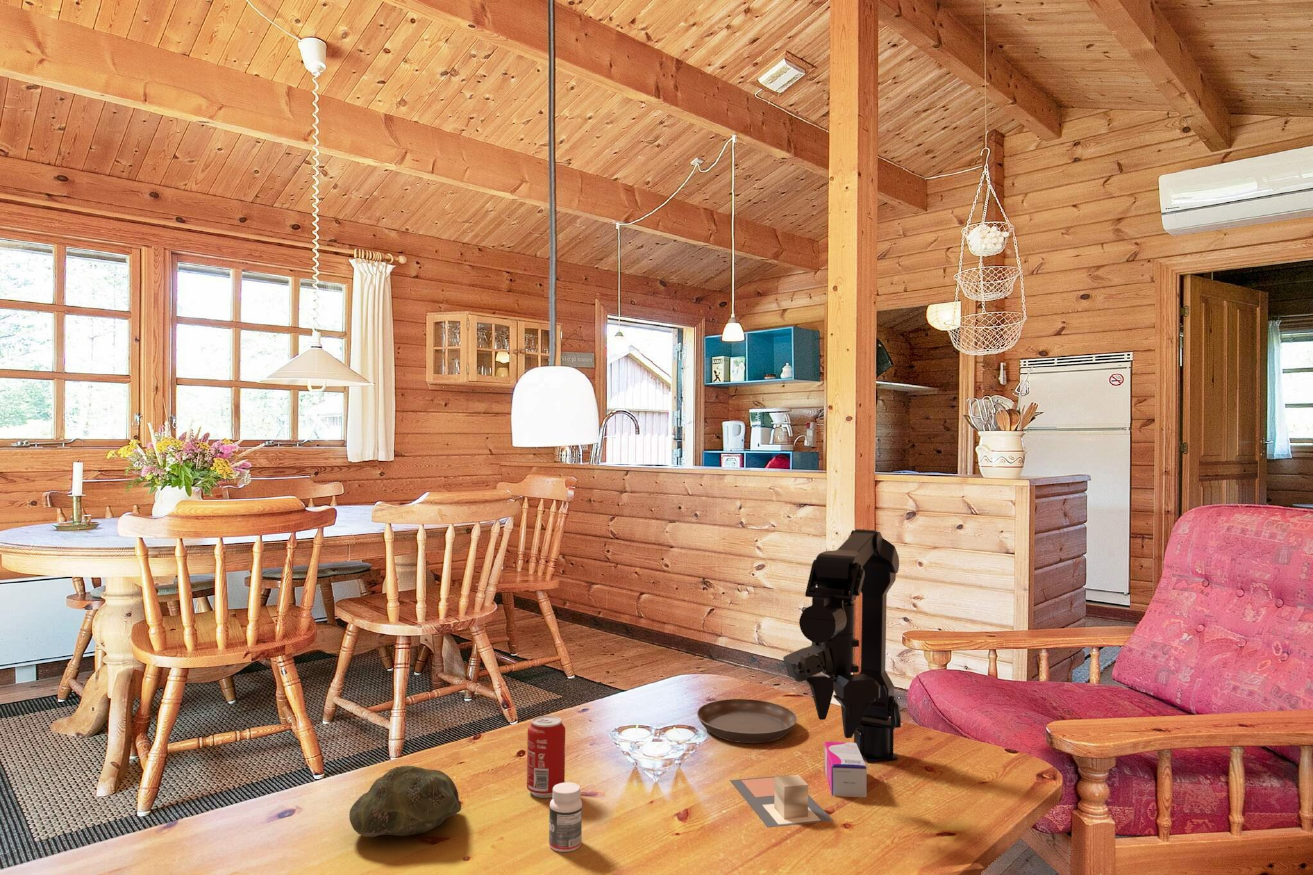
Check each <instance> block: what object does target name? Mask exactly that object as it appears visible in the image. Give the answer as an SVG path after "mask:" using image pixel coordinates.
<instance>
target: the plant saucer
mask: <svg viewBox="0 0 1313 875" xmlns="http://www.w3.org/2000/svg"><path fill="white" fill-rule="evenodd" d="M696 715H697V716H696V717H697V718H698V720H699V722H700V723H701V725H702V726H703V727H704V728H705V729H706V730H707V731H708V732H709V733H711V735H713V736H715V737H717V738H720V739H723V740H726V741H730V742H735V743H743V744H744V743H745V744H746V743H748V744H761V743H768V742H775V741H776V740H779V739H781V738H783V737H785V736H786V735H787V734H788V733H789V732H790V731H792V729H793V727H795V725H796V723H797V721H798V717H797V715H796V714H795V713H794V712H793V710H791V709H789V708H787V707H785V706H783V705H780V704H778V703H774V702H771V701H764V700H761V699H760V700H759V699H751V698H750V699H749V698H729V699H720V700H715V701H711V702H709V703H706V704H704V705H702V706H700V707H699V708H698V710H697V712H696Z"/></svg>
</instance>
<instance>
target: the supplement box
mask: <svg viewBox="0 0 1313 875" xmlns="http://www.w3.org/2000/svg"><path fill="white" fill-rule="evenodd" d="M824 773H825V776H826V780H827V783H828V786H829V790H830V794H831V796H833V797H849V798H850V797H852V798H867V792H868V791H867V789H868V788H867V782H868V780H867V776H868V775H867V773H868V772H867V764H866V763H865V760H864V759H863V758H862V755H861V753H860V751H859V748H858V746H857V744H856V743H854V742H847V741H846V742H844V741H824Z"/></svg>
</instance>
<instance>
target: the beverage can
mask: <svg viewBox="0 0 1313 875" xmlns="http://www.w3.org/2000/svg"><path fill="white" fill-rule="evenodd" d="M562 721H563V720H562V718H560V717H558V716H555V715H541V716H537V717H534V718H532V719H531V724H530V725H529V726H528V728H527V736H526V737H527V738H526V740H527V743H526V744H527V747H526V788H527V790H528V791H529V792H530V793H531V795H532V796H534V797H536V798H541V799H548V798H552V794H553V787H554V786H555V785H557V784H559V783H566V782H565V780H566V779H565V778H566V774H565V773H566V769H565V768H566V726H565V725H564V724H563V723H562Z"/></svg>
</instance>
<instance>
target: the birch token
mask: <svg viewBox="0 0 1313 875" xmlns="http://www.w3.org/2000/svg"><path fill="white" fill-rule="evenodd" d="M788 775H789V776H784V775H776V776H777V777H775V795H774V808H775V809H776V811H777V812H778V813H779V814H780V815H781V816H782V817H783V819H791V818H801V817H808V795H809V784H808V783H807V782H806V781H805V780H804V779H803V778H802V776H800V775H799V774H793V775H792V774H791V775H790V774H788Z"/></svg>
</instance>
